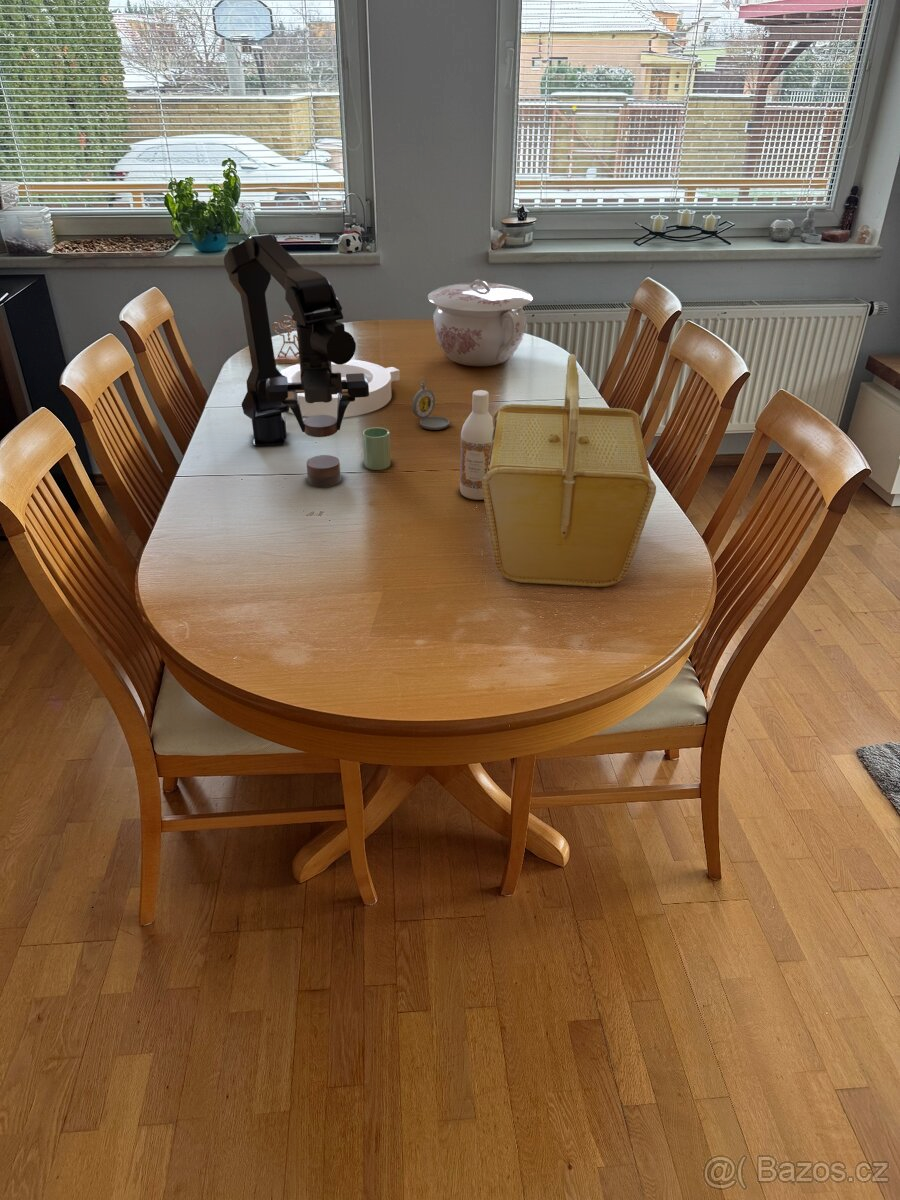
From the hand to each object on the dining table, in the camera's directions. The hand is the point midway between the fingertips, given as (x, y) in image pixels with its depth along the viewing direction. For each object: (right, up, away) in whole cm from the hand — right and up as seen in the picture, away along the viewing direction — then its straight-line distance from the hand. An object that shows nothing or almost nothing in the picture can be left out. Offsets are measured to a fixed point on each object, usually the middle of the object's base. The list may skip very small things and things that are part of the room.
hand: (320, 430), depth 168 cm
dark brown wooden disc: (0, 0, 0) cm, 0 cm away
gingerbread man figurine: (-18, +32, +68) cm, 77 cm away
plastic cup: (+10, -5, +12) cm, 16 cm away
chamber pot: (+32, +32, +69) cm, 83 cm away
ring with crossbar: (-3, +17, +45) cm, 48 cm away
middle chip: (0, -7, +4) cm, 8 cm away
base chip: (0, -9, +6) cm, 10 cm away
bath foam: (+30, -12, +1) cm, 32 cm away
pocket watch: (+21, +7, +31) cm, 37 cm away
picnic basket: (+44, -24, -16) cm, 52 cm away
